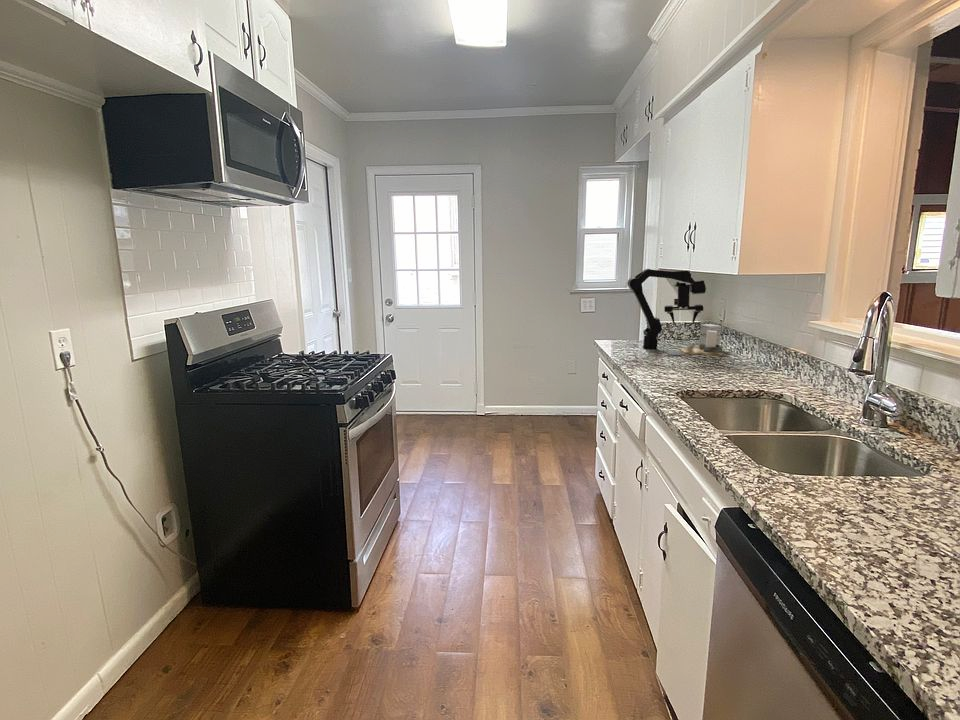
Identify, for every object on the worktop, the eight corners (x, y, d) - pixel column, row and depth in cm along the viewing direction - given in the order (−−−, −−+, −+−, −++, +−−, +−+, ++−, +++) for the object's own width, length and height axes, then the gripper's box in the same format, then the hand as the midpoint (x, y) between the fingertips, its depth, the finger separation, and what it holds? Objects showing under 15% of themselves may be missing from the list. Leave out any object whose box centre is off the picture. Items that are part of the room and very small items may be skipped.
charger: (705, 351, 266) (707, 331, 263) (705, 349, 270) (707, 330, 268) (715, 351, 264) (717, 332, 262) (715, 350, 268) (717, 330, 266)
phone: (667, 356, 258) (667, 354, 258) (666, 352, 269) (666, 350, 269) (681, 357, 256) (681, 355, 256) (680, 352, 267) (680, 350, 267)
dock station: (684, 353, 262) (685, 346, 261) (679, 349, 275) (679, 341, 274) (723, 355, 259) (724, 347, 258) (716, 350, 271) (717, 343, 271)
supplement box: (698, 347, 280) (700, 324, 277) (709, 347, 282) (711, 323, 279) (707, 350, 273) (710, 326, 270) (719, 349, 275) (721, 325, 272)
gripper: (701, 292, 275) (701, 322, 278) (664, 294, 281) (663, 322, 284) (703, 294, 265) (703, 325, 268) (664, 296, 270) (664, 325, 274)
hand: (683, 324), depth 274 cm, fingers open, 9 cm apart
